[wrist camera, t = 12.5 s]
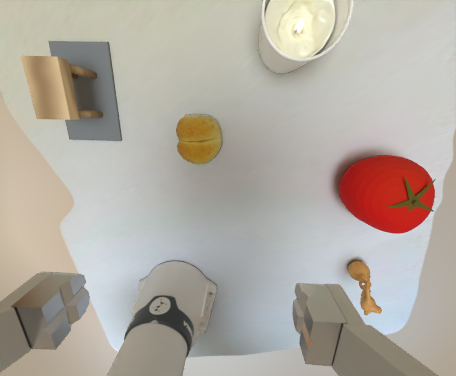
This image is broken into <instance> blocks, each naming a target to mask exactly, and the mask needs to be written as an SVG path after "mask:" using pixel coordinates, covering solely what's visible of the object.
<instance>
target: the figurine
mask: <svg viewBox="0 0 456 376" xmlns="http://www.w3.org/2000/svg"><path fill="white" fill-rule="evenodd" d="M348 272H349V274H350V276H351V277H352V278H353V279H355V280H357V281H359V286H360V288H361V289H363V291H362V294H361V301H360V304H361V307H362V309H363V310H364V314H365V315H368V314H369V313H370V312H375V313H381V312H382V310H381V308H380V307H379V306H377V305H376V303H375V300H374V299H373V298H372V297H371V296H370V292H371V291H370V287H371V283H370V270H369V268H368V266H367V265H366V264H364V263H363V262H360V261H354V262H352V263H350V265H349V267H348ZM366 280H367V281H366ZM362 283H365V285H362Z"/></svg>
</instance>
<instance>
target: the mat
mask: <svg viewBox="0 0 456 376" xmlns="http://www.w3.org/2000/svg"><path fill="white" fill-rule="evenodd" d="M49 46H50V51H51V55H52V57H60V58H63V59H66V60H69V64H72V65H75V66H78V67H81V68H84V69H87V70H91V71H94V72H96V74H97V78H96V79H91V78H88V77H84V76H80V75H78V78H76V79H74V78H72V81H73V86H74V91H75V96H76V102H77V107H78V110H89V111H101V112H102V113H103V117H102V118H80V120H65V121H66V126H67V130H68V135H69V139H73V140H108V141H122V137H121V129H120V122H119V114H118V107H117V100H116V92H115V85H114V77H113V70H112V63H111V55H110V48H109V43H108V42H68V41H49Z"/></svg>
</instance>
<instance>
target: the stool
mask: <svg viewBox="0 0 456 376" xmlns="http://www.w3.org/2000/svg"><path fill="white" fill-rule="evenodd" d="M21 58H22V62H23V66H24V70H25V74H26V78H27V82H28V86H29V90H30V94H31V98H32V102H33V106H34V110H35V114H36V118H37V119H63V120H80V118H102V117H103V113H102V112H101V111H89V110H78V107H77V102H76V96H75V91H74V86H73V81H72V78H74V79H76V78H78V75H80V76H84V77H88V78H91V79H96V78H97V74H96V72H94V71H91V70H87V69H84V68H81V67H78V66H75V65H72V64H69V60H66V59H63V58H60V57H52V56H21Z"/></svg>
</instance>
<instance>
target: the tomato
mask: <svg viewBox="0 0 456 376" xmlns="http://www.w3.org/2000/svg"><path fill="white" fill-rule="evenodd" d="M434 181H435V180H434ZM434 181H432V178H431V177H430V175H429V174H428V172H427V171H426V170H425V169H424V168H423V167H421V166H420V165H418V164H417V163H415V162H413V161H411V160H409V159H406V158H403V157H397V156H389V155H385V156H375V157H370V158H366V159H363V160H361V161H359V162H356V163H355V164H353V165H352V166H350V167H349V168H348V169H347V171H346V172H345V173H344V175H343V177H342V179H341V182H340V187H339V191H340V197H341V199H342V202H343V203H344V205H345V206H346V208H347V209H348V211H349V212H351V213H352V214H353V215H354V216H355V217H356V218H358V219H359V220H361V221H363V222H365V223H366V224H368V225H370V226H372V227H374V228H376V229H379V230H381V231H385V232H389V233H405V232H408V231H410V230H412V229H414V228H415V227H417V226H418V225H420V224H421V223H422V222H423V221H424V220H425V219H426V218H427V217H428V215H429V213H430V212H431V211H433V210H432V206H433V203H434V198H435V190H434V185H433V182H434Z"/></svg>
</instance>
